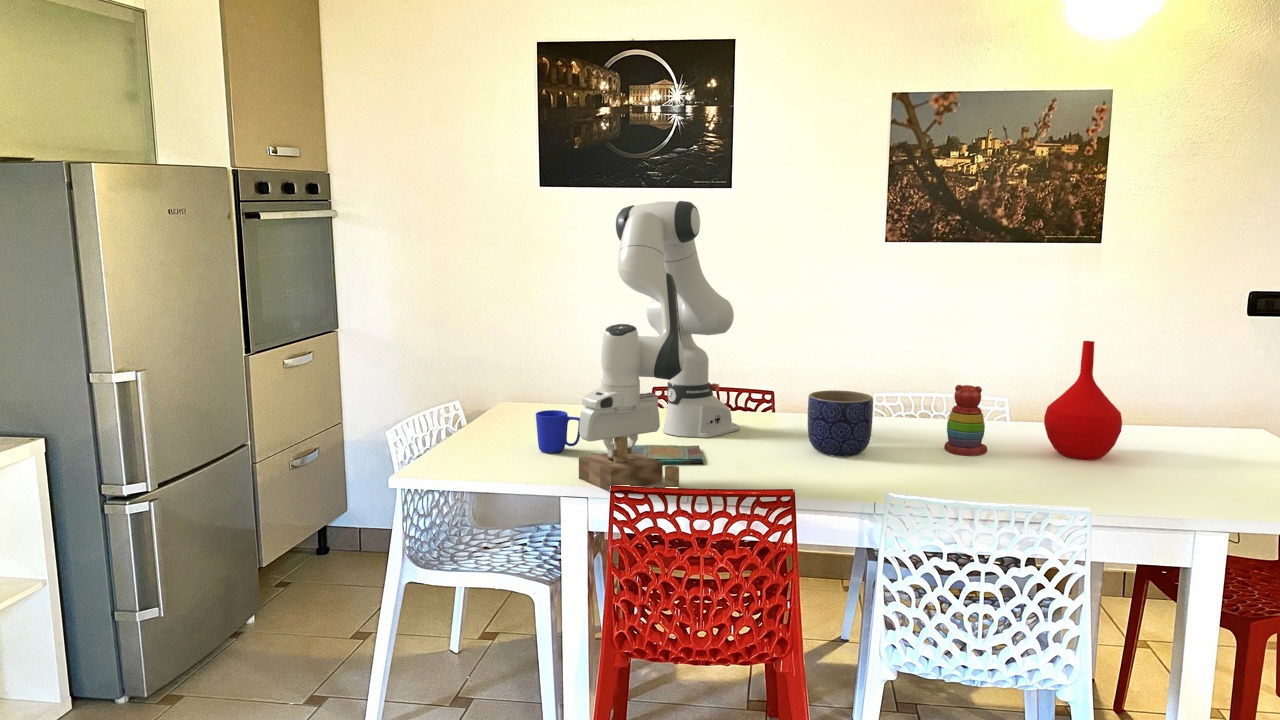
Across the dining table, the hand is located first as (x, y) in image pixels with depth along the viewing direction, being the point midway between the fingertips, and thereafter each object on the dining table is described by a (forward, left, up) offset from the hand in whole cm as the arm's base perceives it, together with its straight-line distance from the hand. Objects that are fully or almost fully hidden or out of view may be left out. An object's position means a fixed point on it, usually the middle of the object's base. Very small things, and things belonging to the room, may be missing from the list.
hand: (620, 455), depth 225 cm
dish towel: (-20, -14, -7) cm, 25 cm away
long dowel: (0, 0, -5) cm, 5 cm away
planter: (-63, +8, -6) cm, 64 cm away
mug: (-2, -32, -6) cm, 33 cm away
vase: (-113, +45, -6) cm, 122 cm away
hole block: (0, 0, -6) cm, 6 cm away
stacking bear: (-91, +26, -6) cm, 95 cm away
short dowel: (-6, +12, -6) cm, 15 cm away
